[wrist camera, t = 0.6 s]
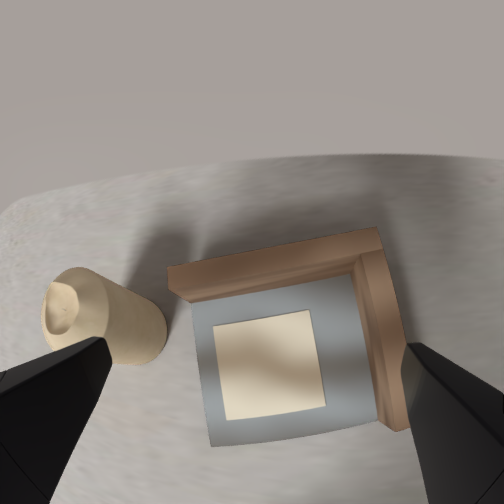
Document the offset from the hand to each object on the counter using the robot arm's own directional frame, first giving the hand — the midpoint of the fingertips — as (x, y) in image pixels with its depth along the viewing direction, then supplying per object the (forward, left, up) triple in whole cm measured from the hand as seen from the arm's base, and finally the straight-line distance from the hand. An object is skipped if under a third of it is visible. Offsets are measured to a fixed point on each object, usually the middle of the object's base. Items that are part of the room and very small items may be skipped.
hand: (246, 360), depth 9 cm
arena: (+1, -1, -14) cm, 14 cm away
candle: (+4, +11, -15) cm, 18 cm away
